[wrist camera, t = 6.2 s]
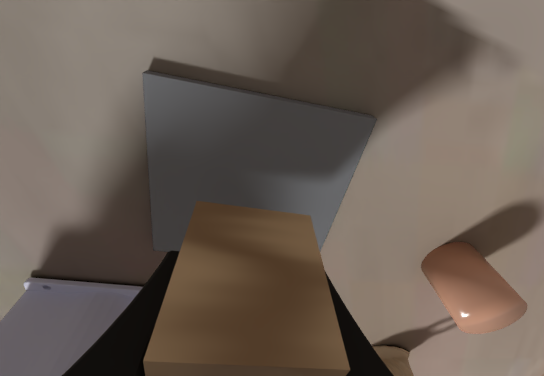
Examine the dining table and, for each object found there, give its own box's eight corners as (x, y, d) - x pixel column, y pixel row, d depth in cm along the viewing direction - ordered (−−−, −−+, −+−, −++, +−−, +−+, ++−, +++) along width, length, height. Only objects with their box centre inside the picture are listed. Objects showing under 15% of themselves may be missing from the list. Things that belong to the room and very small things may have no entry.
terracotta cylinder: (411, 274, 21) (445, 331, 17) (439, 238, 19) (484, 294, 15) (455, 279, 21) (498, 335, 18) (486, 245, 19) (542, 300, 15)
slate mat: (156, 243, 18) (153, 250, 17) (147, 70, 12) (142, 72, 11) (311, 260, 19) (313, 266, 19) (372, 115, 13) (376, 119, 13)
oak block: (193, 276, 12) (153, 431, 8) (196, 200, 10) (143, 361, 5) (285, 284, 13) (300, 432, 8) (310, 215, 10) (350, 369, 6)
